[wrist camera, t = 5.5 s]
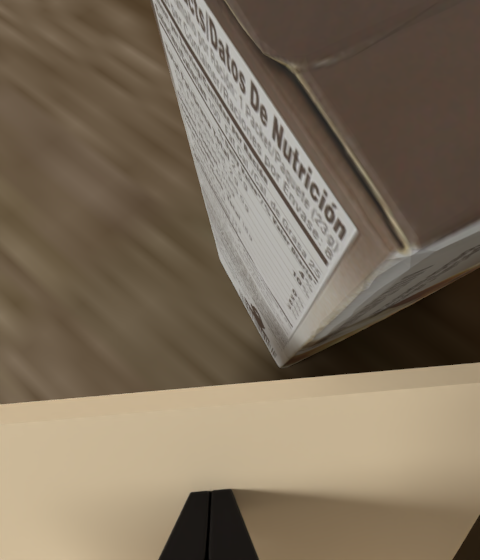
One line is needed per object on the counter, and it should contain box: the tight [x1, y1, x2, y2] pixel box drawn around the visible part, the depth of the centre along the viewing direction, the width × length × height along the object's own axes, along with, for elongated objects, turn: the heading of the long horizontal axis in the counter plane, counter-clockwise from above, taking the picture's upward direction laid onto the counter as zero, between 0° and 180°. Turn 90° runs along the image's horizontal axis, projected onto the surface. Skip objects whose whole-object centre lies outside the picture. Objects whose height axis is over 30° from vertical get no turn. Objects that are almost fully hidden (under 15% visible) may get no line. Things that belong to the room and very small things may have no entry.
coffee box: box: [150, 0, 480, 368], centre depth 12 cm, size 9×6×16 cm
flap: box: [0, 363, 480, 560], centre depth 10 cm, size 10×12×1 cm
